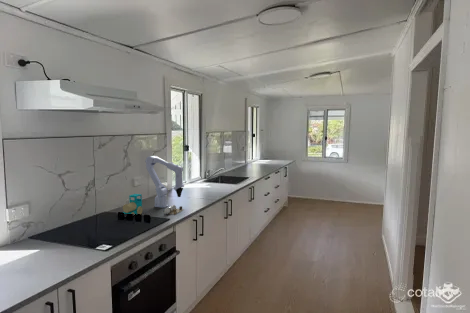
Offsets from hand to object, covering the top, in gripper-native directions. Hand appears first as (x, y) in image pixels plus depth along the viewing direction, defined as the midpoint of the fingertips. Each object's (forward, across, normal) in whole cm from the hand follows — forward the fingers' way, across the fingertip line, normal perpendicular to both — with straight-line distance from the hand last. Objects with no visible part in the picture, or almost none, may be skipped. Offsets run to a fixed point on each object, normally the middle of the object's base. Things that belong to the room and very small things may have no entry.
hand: (179, 196), depth 255 cm
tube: (+8, -18, 0) cm, 19 cm away
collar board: (+9, -13, -2) cm, 16 cm away
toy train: (+9, -33, +23) cm, 41 cm away
